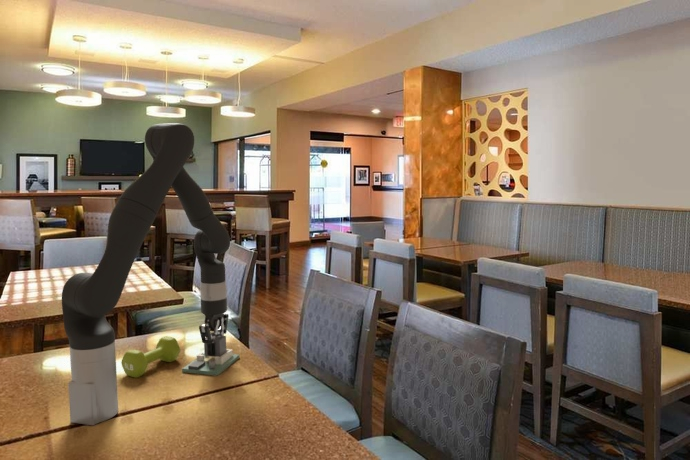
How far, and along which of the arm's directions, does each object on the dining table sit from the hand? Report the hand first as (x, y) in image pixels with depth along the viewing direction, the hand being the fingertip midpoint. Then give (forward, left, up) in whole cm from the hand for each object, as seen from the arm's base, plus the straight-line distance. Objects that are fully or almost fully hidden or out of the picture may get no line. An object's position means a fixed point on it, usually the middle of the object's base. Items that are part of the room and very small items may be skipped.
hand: (215, 352), depth 144 cm
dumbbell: (-8, +16, -3) cm, 18 cm away
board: (-2, 0, -3) cm, 4 cm away
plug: (0, 0, -1) cm, 1 cm away
